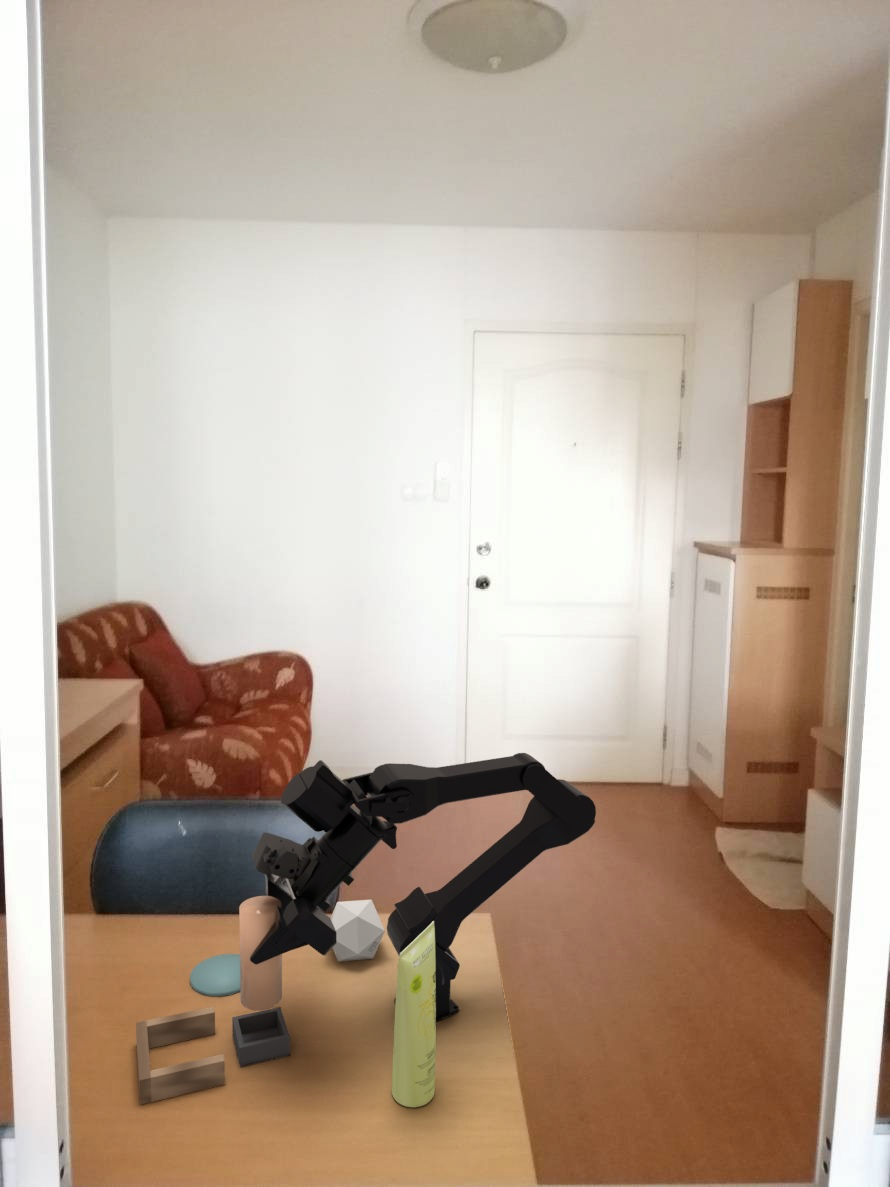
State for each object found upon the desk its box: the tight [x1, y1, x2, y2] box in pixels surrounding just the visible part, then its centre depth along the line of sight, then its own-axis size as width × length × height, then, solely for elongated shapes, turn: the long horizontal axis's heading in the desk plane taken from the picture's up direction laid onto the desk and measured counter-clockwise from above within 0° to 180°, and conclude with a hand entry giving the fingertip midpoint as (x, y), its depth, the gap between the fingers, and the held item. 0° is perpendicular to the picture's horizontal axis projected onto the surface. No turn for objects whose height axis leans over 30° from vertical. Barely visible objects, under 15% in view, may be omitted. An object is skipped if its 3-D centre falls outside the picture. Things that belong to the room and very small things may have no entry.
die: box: [330, 899, 386, 962], centre depth 122 cm, size 8×9×10 cm
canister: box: [238, 895, 283, 1011], centre depth 102 cm, size 5×5×12 cm
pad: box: [189, 953, 240, 997], centre depth 116 cm, size 9×9×1 cm
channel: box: [135, 1006, 226, 1106], centre depth 99 cm, size 9×10×3 cm
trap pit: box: [231, 1006, 291, 1068], centre depth 103 cm, size 6×6×2 cm
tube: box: [391, 921, 437, 1108], centre depth 94 cm, size 6×5×20 cm
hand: (249, 949), depth 101 cm, fingers closed on canister, 5 cm apart
